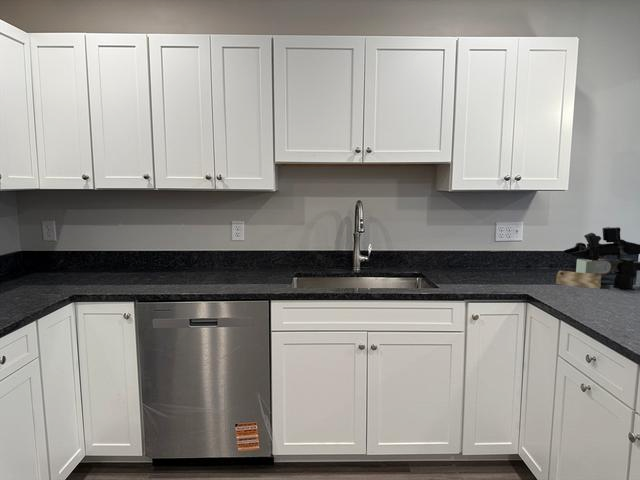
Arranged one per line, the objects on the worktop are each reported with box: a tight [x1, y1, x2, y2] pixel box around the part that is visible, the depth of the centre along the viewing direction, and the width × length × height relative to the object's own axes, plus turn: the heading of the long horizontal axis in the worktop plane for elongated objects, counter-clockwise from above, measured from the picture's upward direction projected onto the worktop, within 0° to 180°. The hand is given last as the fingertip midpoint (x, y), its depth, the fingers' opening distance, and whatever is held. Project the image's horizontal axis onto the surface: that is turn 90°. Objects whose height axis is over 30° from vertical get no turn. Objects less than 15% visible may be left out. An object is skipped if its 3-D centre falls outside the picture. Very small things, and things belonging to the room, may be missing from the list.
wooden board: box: [555, 270, 602, 290], centre depth 203 cm, size 18×14×4 cm
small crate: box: [575, 258, 596, 274], centre depth 214 cm, size 6×6×10 cm
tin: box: [595, 258, 613, 275], centre depth 228 cm, size 15×3×8 cm, turn 84°
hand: (567, 252), depth 197 cm, fingers open, 9 cm apart
